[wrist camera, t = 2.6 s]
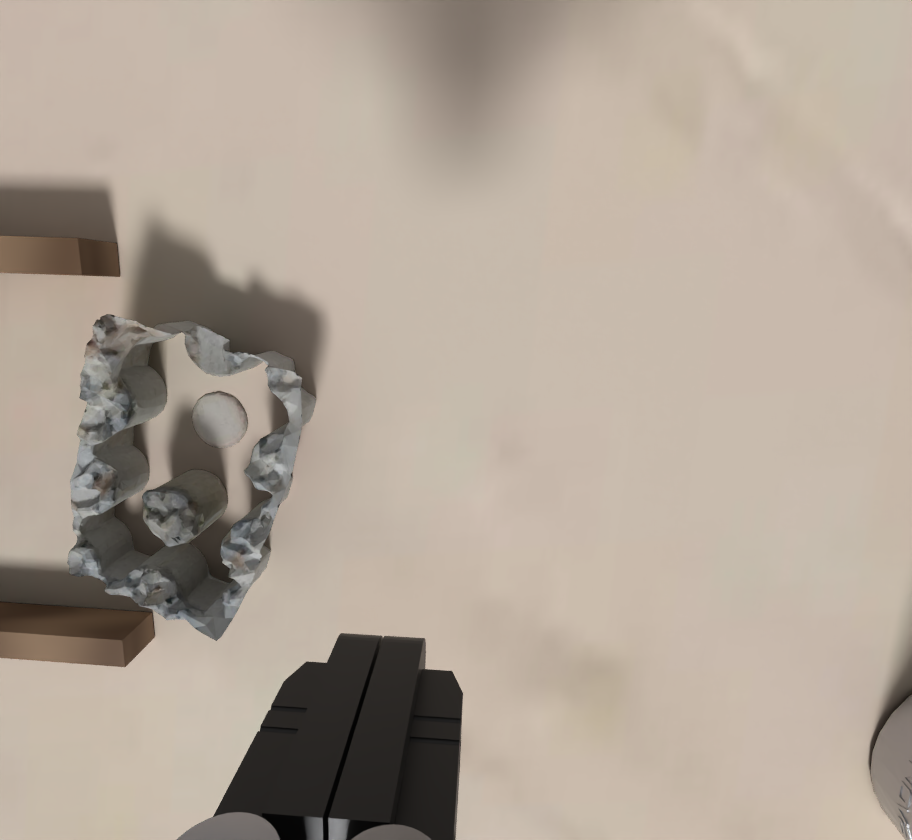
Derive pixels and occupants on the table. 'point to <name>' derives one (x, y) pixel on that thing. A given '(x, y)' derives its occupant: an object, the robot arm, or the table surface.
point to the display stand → (63, 627)
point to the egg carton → (185, 497)
